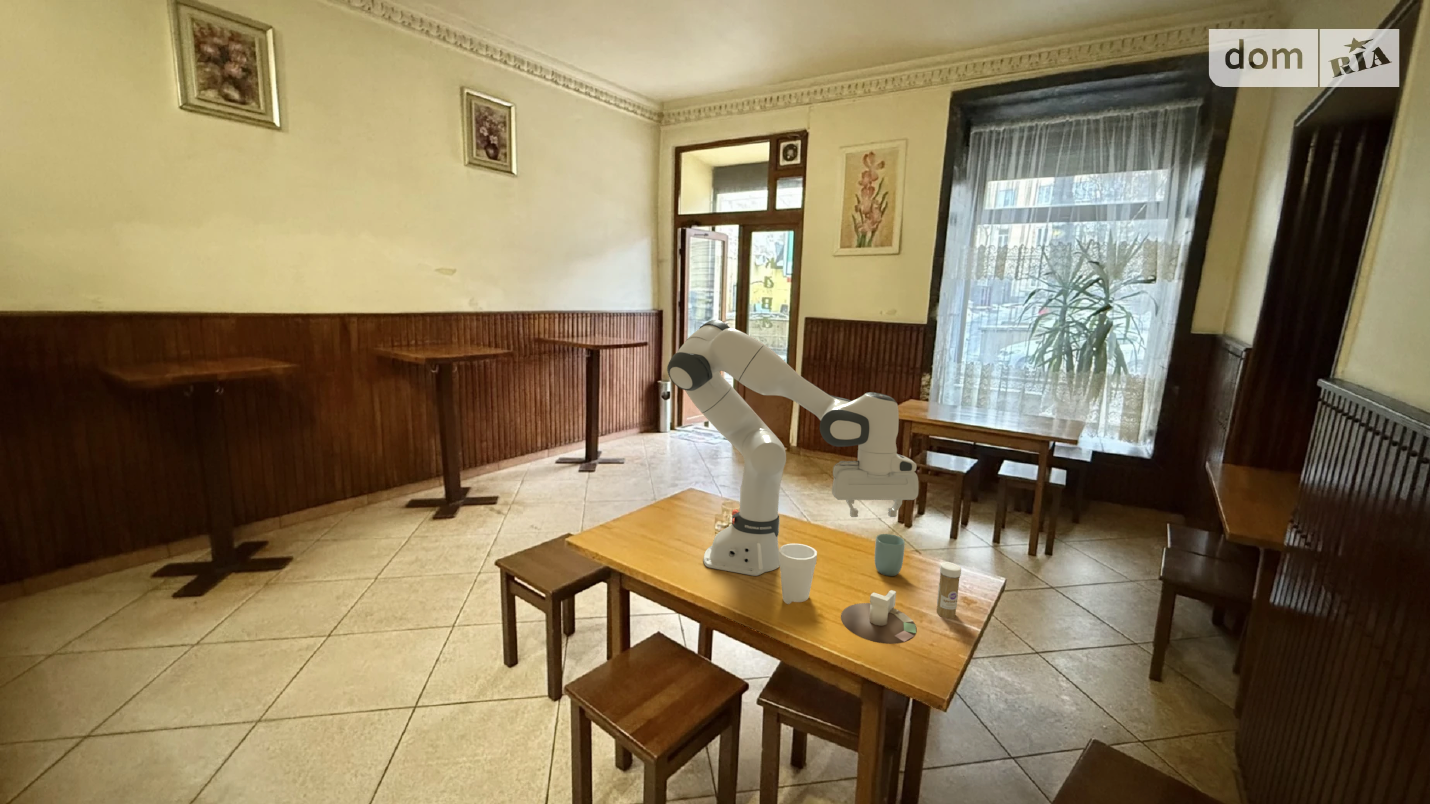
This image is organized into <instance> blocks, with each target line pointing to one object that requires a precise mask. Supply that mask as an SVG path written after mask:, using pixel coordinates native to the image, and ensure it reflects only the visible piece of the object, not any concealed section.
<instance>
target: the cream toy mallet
mask: <svg viewBox="0 0 1430 804" xmlns="http://www.w3.org/2000/svg"><path fill="white" fill-rule="evenodd" d="M896 596H897V591H895V590H892V589H891V590H889V591H888V592H887V594H886V595H883V594H879V593H877V592H872V593H871V594H870V596H869V603H871V605H870V617H869V620H870V622H871V623H873V624H875V625H879V626H883V625H886V624H887V618H888V613H889V612H890V610H891V609H892V608H895V607H896V601H897V600H896V599H897V597H896Z"/></svg>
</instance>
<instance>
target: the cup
mask: <svg viewBox="0 0 1430 804" xmlns="http://www.w3.org/2000/svg"><path fill="white" fill-rule="evenodd" d="M905 544H906V543H905V540H904V539H903V537H902V536H899V535H895V534H892V533H891V534H890V533H882V534H881V533H880V534H878V535H877V536H876V537H875V543H874V546H875V547H874V566H875V569H876V570H877V572H878V573H879V574H882V575H884V576H886V577H895V576H896V575H899V573H900V572H901V570H902V568H903V562H904V557H905V547H906V546H905Z"/></svg>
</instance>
